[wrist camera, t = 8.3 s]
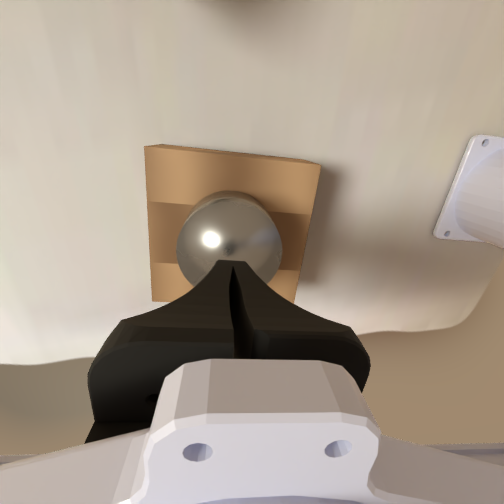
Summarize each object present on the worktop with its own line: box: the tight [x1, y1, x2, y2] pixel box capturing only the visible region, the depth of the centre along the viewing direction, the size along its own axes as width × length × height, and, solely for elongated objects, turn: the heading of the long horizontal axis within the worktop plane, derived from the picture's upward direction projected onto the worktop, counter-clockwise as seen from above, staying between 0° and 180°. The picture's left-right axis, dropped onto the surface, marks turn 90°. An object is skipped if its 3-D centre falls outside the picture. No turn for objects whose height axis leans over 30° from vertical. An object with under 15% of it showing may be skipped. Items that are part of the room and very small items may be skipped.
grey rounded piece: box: [176, 190, 282, 287], centre depth 17 cm, size 6×6×6 cm
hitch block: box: [144, 144, 321, 304], centre depth 19 cm, size 10×10×4 cm
